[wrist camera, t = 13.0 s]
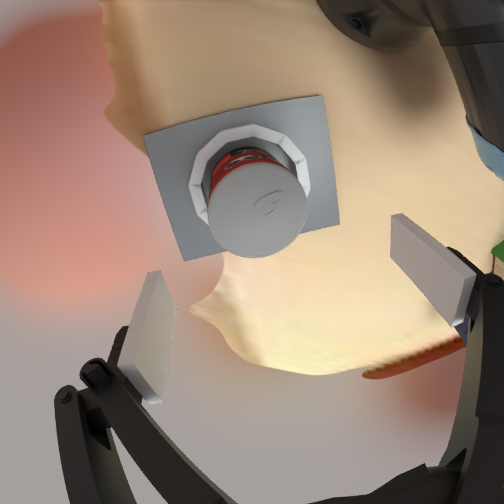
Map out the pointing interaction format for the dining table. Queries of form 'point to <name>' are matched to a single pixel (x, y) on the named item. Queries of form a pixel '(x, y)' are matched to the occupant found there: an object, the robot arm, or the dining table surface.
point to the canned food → (255, 203)
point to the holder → (233, 137)
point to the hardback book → (499, 260)
